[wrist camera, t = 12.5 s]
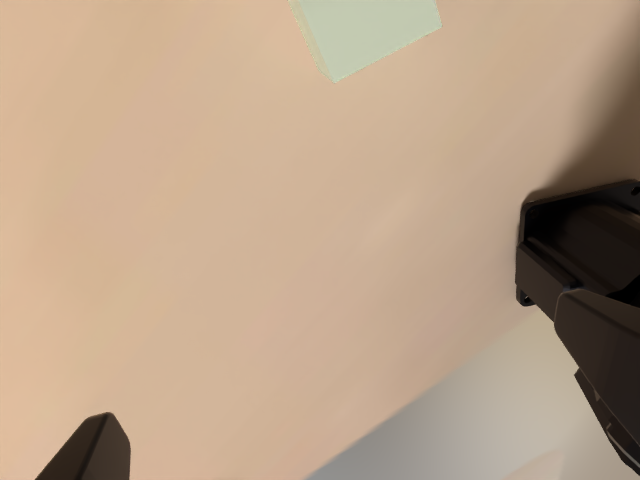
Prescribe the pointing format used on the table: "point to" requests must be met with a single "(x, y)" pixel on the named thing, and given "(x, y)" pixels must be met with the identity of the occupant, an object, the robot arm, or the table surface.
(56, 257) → the table surface
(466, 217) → the table surface
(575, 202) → the robot arm
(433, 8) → the sage green cube
